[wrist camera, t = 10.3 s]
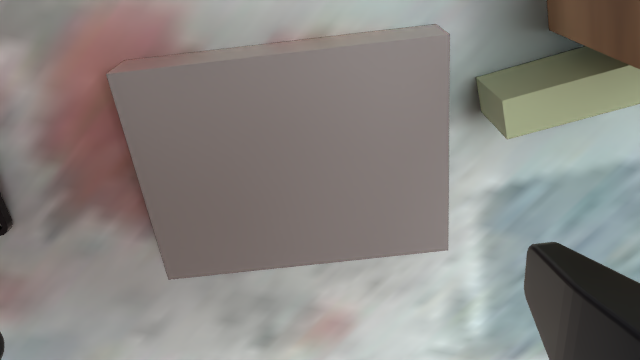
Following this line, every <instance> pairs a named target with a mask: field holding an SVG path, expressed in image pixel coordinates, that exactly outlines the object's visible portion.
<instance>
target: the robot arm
mask: <svg viewBox="0 0 640 360" xmlns="http://www.w3.org/2000/svg"><path fill="white" fill-rule="evenodd" d="M0 224H1V225H2V226H0V236H1V235H4V234H5V233H7V232H8V231H9V229H10V228H11V227H12V225H13V223H12V219H11V217H10V215H9V212H8V210H7V208H6V206H5V204H4V201H3V199H2V197H1V193H0ZM524 292H525V297H526V300H527V303H528V305H529V308H530V311H531V313H532V316H533V318H534V321H535V324H536V326H537V329H538V331H539V334H540V337H541V339H542V342H543V344H544V347H545V350H546V352H547V355H548V357H549V360H640V283H638V282H636V281H634V280H632V279H630V278H628V277H626V276H624V275H622V274H620V273H618V272H616V271H614V270H612V269H610V268H608V267H606V266H604V265H602V264H600V263H598V262H596V261H594V260H592V259H590V258H588V257H586V256H584V255H581V254H579V253H577V252H575V251H573V250H571V249H569V248H567V247H565V246H563V245H561V244H559V243H557V242H548V243H539V244H532V245H531V246H530V247H529V248H528V251H527V258H526V269H525V280H524ZM3 352H4V338H3V336H2V334H1V332H0V360H1V358H2V356H3Z"/></svg>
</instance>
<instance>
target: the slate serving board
mask: <svg viewBox="0 0 640 360" xmlns="http://www.w3.org/2000/svg"><path fill="white" fill-rule="evenodd" d="M449 65H450V34H449V33H447V32H446V31H445V30H443V29H442V28H441V27H440V26H438V25H437V24H432V25H423V26H415V27H406V28H398V29H389V30H381V31H372V32H363V33H355V34H346V35H338V36H329V37H320V38H312V39H303V40H295V41H286V42H277V43H269V44H260V45H252V46H243V47H234V48H226V49H217V50H209V51H200V52H191V53H183V54H174V55H166V56H157V57H149V58H140V59H131V60H124V61H123V62H121V63H120V64H119V65H117V66H116V67H115V68H113V69H112V70H111V71H109V72H108V73H107V74H106V75H107V79H108V82H109V85H110V89H111V92H112V95H113V98H114V102H115V105H116V108H117V112H118V115H119V118H120V121H121V125H122V128H123V131H124V135H125V138H126V141H127V144H128V148H129V151H130V154H131V158H132V161H133V164H134V167H135V171H136V174H137V177H138V181H139V184H140V187H141V190H142V194H143V197H144V200H145V204H146V207H147V210H148V213H149V217H150V220H151V223H152V227H153V230H154V233H155V237H156V240H157V243H158V246H159V250H160V253H161V256H162V260H163V263H164V266H165V269H166V273H167V276H168V279H169V280H170V279H179V278H189V277H198V276H208V275H217V274H227V273H236V272H246V271H255V270H265V269H274V268H284V267H293V266H303V265H312V264H322V263H331V262H341V261H350V260H360V259H369V258H379V257H389V256H398V255H408V254H417V253H427V252H436V251H446V250H448V209H449Z"/></svg>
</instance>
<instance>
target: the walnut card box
mask: <svg viewBox="0 0 640 360" xmlns="http://www.w3.org/2000/svg"><path fill="white" fill-rule="evenodd" d="M547 9H548V23H549V30H550V31H552V32H554V33H557V34H559V35H561V36H563V37H566V38H568V39H570V40H573V41H575V42H577V43H580V44H582V45H584V46H587V47H589V48H591V49H594V50H596V51H598V52H601V53H603V54H605V55H608V56H610V57H612V58H615V59H617V60H619V61H621V62H624V63H626V64H628V65H631V66H633V67H635V68H638V69H640V0H547Z"/></svg>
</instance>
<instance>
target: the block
mask: <svg viewBox="0 0 640 360" xmlns="http://www.w3.org/2000/svg"><path fill="white" fill-rule="evenodd" d="M476 81H477V88H478V94H479V101H480V108H481V112H482V113H483V114H484V115H485V116H486V118H487V119H488V120H489V121H490V122H491V123H492V124H493V125H494V126H495V127H496V128H497V129H498V130H499V131H500V132H501V133H502V134H503V136H504V137H505V138H506V139H511V138H514V137H518V136H522V135H526V134H529V133H533V132H537V131H540V130H544V129H548V128H552V127H555V126H559V125H563V124H566V123H570V122H574V121H578V120H581V119H585V118H589V117H592V116H596V115H600V114H603V113H607V112H611V111H615V110H618V109H622V108H626V107H629V106H633V105H637V104H640V69H638V68H635V67H633V66H631V65H628V64H626V63H624V62H621V61H619V60H617V59H615V58H612V57H610V56H608V55H605V54H603V53H601V52H598V51H596V50H594V49H591V48H589V47H587V46H585V47H581V48H578V49H574V50H571V51H567V52H564V53H560V54H557V55H553V56H549V57H546V58H542V59H539V60H535V61H532V62H528V63H525V64H521V65H518V66H514V67H511V68H507V69H504V70H500V71H497V72H493V73H490V74H486V75H483V76H479V77H476Z"/></svg>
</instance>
